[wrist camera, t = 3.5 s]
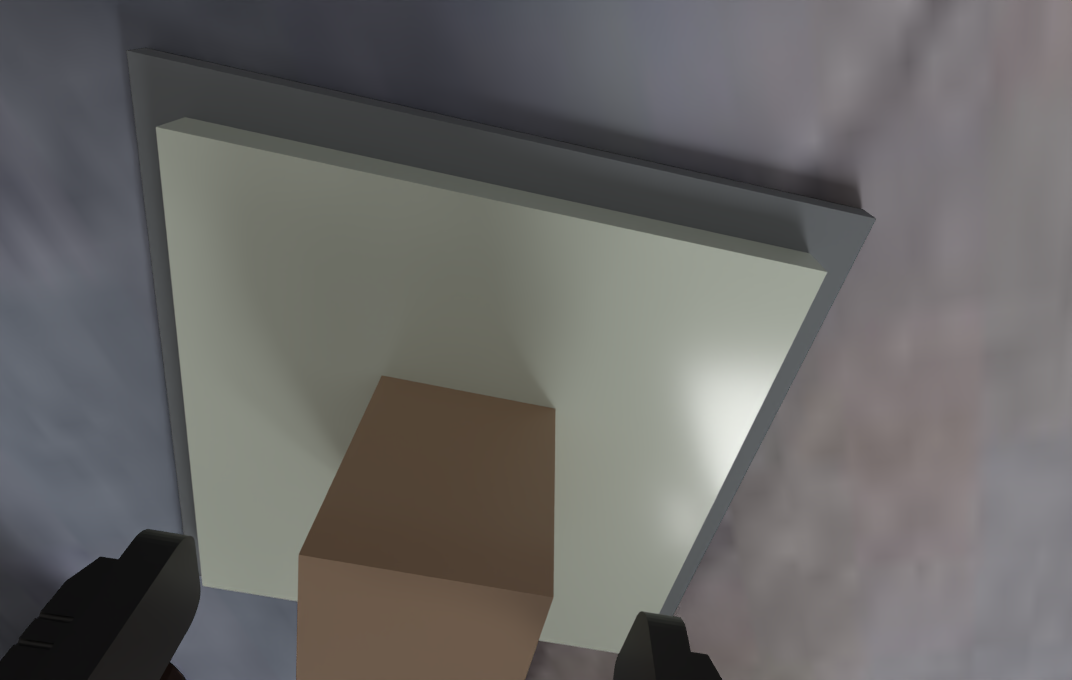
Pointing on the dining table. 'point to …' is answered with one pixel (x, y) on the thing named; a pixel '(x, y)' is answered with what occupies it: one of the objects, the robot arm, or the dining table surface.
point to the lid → (453, 399)
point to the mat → (491, 157)
